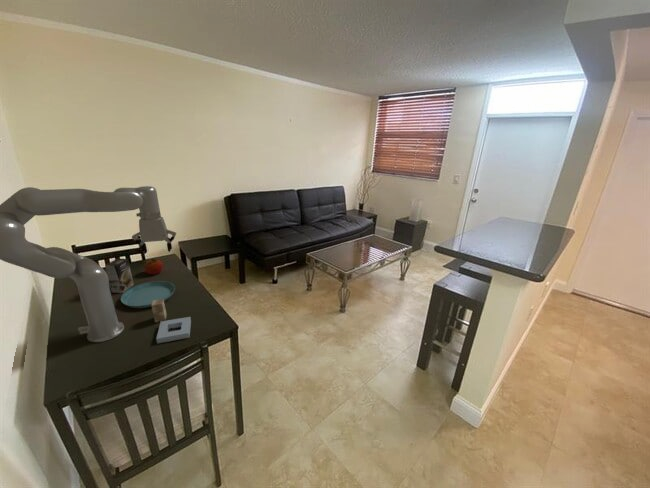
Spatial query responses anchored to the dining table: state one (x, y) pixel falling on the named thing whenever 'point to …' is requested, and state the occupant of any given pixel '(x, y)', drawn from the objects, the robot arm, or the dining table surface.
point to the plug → (159, 310)
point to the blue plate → (147, 294)
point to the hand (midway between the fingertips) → (157, 251)
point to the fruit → (153, 266)
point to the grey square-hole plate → (174, 335)
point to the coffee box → (119, 275)
